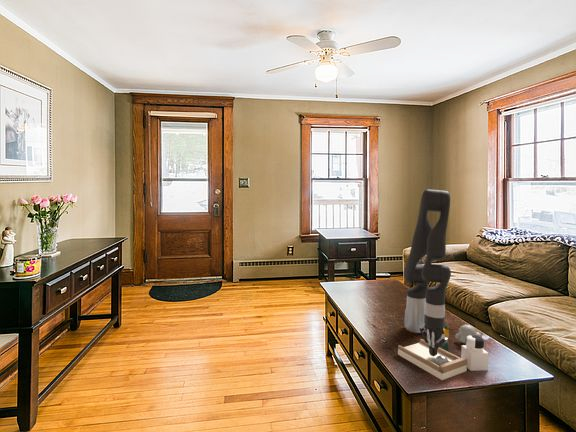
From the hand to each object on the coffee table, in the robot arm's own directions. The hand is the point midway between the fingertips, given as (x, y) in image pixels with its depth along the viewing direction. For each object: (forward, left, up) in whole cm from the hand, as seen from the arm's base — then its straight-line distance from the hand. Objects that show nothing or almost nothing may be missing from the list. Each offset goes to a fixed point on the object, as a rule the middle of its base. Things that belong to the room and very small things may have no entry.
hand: (432, 355), depth 138 cm
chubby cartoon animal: (-4, +30, -4) cm, 31 cm away
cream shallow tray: (-1, 0, -4) cm, 4 cm away
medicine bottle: (+9, +13, -4) cm, 16 cm away
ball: (+4, 0, -1) cm, 4 cm away
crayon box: (-8, +14, -4) cm, 17 cm away
